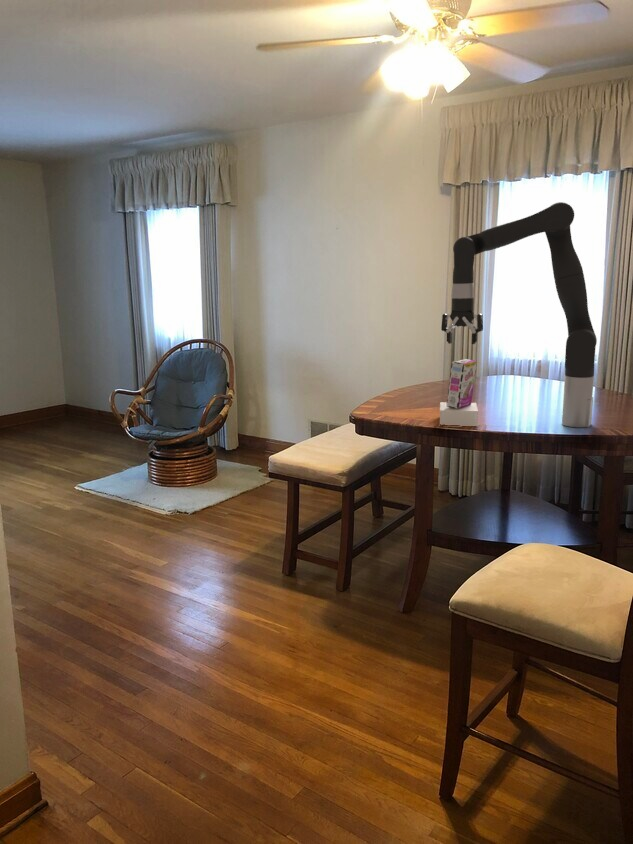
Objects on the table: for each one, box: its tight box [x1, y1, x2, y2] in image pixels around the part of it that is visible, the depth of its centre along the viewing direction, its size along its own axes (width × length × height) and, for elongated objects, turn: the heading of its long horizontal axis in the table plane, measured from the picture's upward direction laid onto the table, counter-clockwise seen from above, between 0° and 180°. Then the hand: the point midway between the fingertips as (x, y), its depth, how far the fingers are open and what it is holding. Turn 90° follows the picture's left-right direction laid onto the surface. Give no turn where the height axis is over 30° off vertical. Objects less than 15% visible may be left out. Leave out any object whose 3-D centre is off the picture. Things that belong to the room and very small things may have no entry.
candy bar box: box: [446, 358, 478, 409], centre depth 233 cm, size 11×5×16 cm, turn 142°
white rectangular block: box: [439, 401, 479, 427], centre depth 236 cm, size 13×15×6 cm
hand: (461, 343), depth 231 cm, fingers open, 8 cm apart
